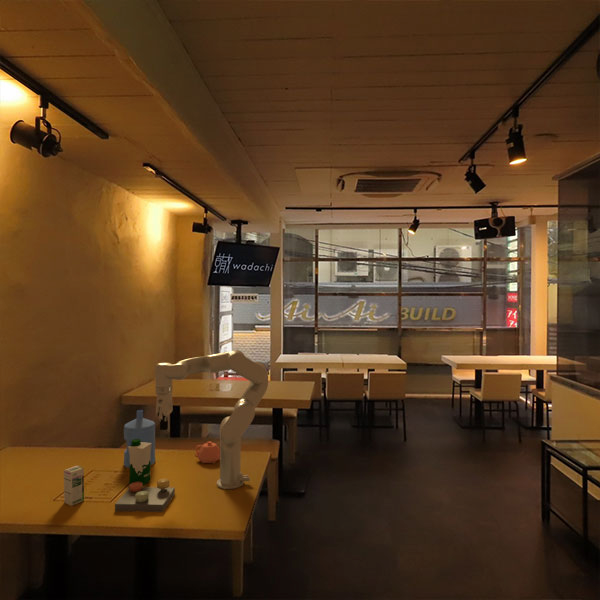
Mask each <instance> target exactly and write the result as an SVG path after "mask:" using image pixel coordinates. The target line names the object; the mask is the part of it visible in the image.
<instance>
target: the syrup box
mask: <svg viewBox="0 0 600 600" xmlns="http://www.w3.org/2000/svg"><path fill="white" fill-rule="evenodd" d="M84 471H85V470H84V467H82V466H80V465H74V466H72V467H69V468H67V469H64V470H63V498H64V499H63V500H64V503H65V504H66V505H69V506H70V505H71V507H74V505H77V504H79V503H82V502H84V501H85V476H84V475H85V472H84Z"/></svg>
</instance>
